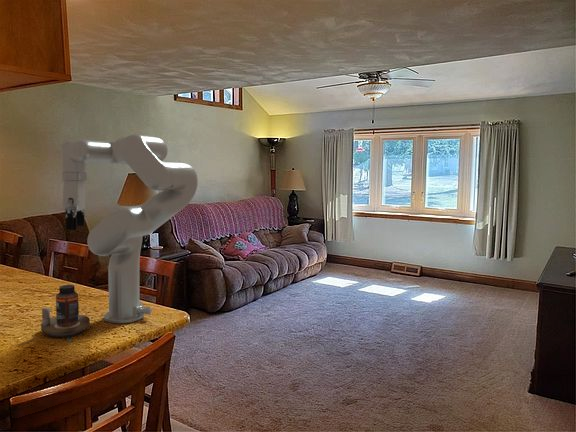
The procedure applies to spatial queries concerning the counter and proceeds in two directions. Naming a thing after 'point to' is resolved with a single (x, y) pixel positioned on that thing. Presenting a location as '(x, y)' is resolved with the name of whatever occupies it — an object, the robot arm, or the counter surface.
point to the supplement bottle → (67, 306)
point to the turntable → (51, 326)
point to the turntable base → (65, 335)
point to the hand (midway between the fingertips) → (75, 227)
